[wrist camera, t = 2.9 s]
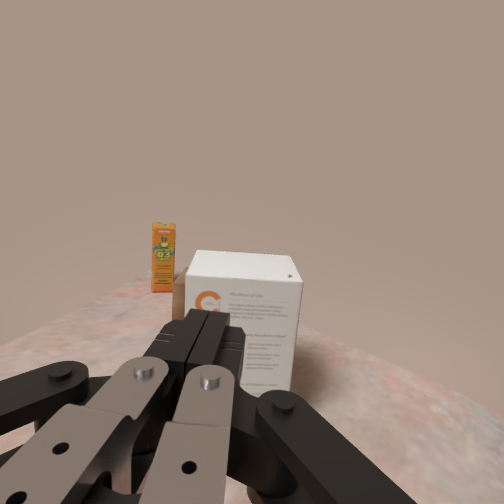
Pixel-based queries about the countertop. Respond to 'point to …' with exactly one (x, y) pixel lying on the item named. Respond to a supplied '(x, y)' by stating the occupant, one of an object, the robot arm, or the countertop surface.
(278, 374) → the small box
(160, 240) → the supplement box
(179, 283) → the walnut digit block
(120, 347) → the countertop surface
